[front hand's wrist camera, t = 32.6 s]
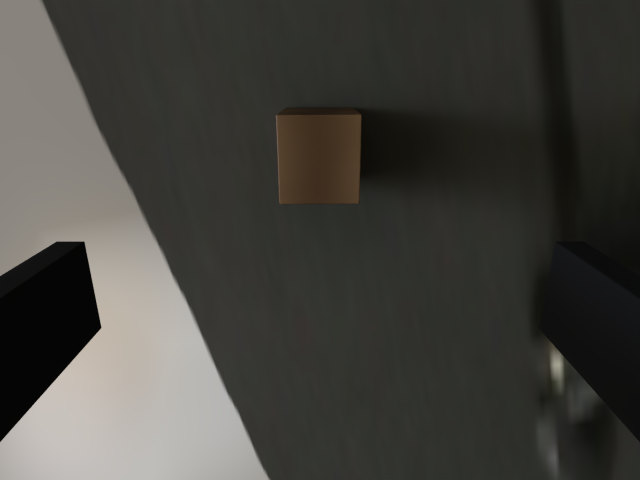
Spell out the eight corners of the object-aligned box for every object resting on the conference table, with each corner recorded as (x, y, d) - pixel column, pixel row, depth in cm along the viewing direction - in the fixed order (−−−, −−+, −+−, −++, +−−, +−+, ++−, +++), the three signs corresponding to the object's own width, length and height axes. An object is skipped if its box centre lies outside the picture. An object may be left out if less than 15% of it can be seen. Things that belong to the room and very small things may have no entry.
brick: (352, 107, 39) (361, 114, 31) (351, 179, 42) (359, 203, 33) (285, 107, 39) (275, 115, 31) (287, 179, 42) (279, 204, 33)
